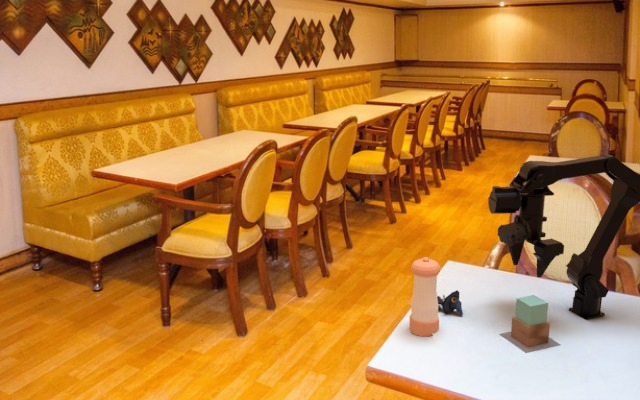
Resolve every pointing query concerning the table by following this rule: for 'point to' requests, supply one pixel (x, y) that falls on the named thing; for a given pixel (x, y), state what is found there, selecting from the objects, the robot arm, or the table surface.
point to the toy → (451, 303)
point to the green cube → (531, 310)
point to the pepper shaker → (424, 298)
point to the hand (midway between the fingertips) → (527, 270)
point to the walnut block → (530, 333)
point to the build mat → (533, 348)
